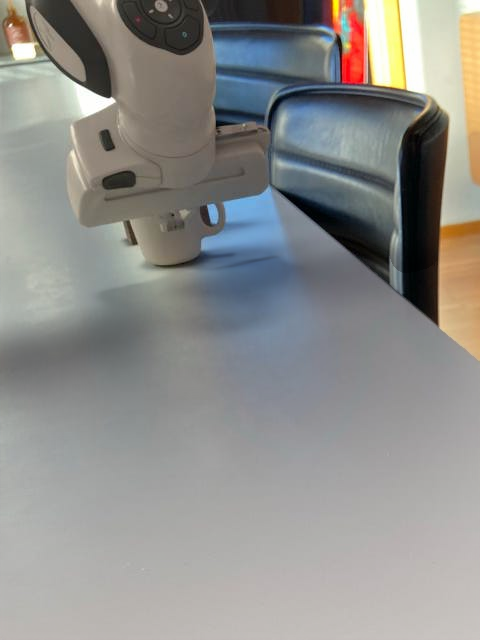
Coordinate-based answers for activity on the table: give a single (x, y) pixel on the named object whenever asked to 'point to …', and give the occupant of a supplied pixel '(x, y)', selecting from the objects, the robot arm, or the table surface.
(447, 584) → the table surface
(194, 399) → the table surface
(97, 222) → the robot arm
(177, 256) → the cup
